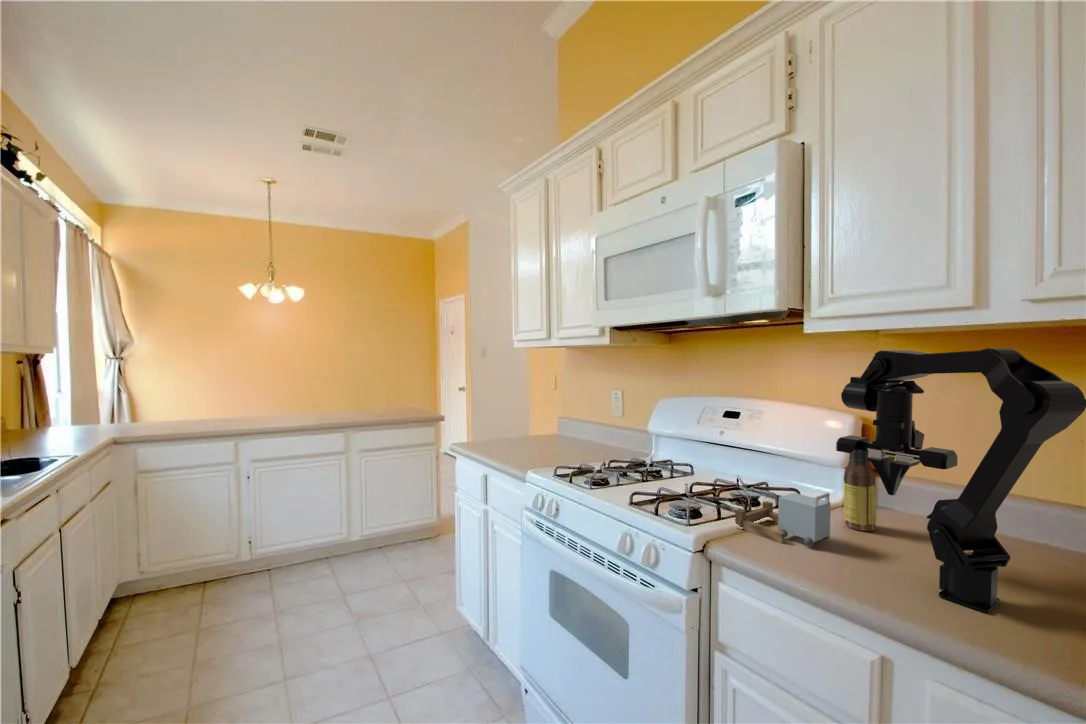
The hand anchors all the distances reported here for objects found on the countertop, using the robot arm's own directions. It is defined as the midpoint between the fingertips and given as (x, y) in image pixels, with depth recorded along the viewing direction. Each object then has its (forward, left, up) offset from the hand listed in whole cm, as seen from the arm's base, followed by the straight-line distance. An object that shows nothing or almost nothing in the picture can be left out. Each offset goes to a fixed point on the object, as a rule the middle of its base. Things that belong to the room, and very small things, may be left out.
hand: (891, 494), depth 97 cm
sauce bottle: (+12, -14, -13) cm, 23 cm away
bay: (+22, +4, -13) cm, 26 cm away
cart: (+15, +4, -13) cm, 20 cm away
